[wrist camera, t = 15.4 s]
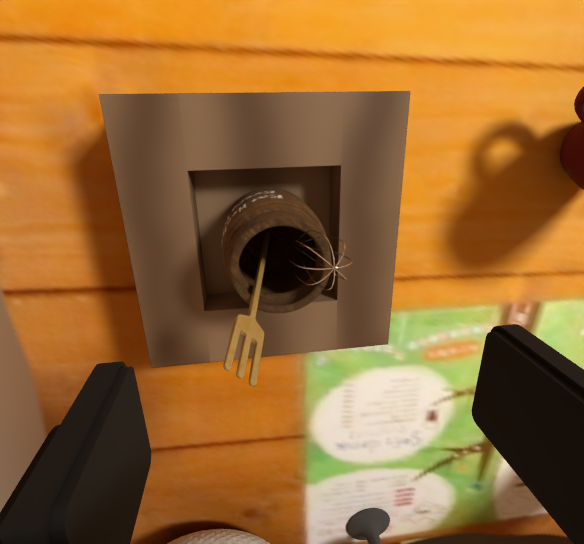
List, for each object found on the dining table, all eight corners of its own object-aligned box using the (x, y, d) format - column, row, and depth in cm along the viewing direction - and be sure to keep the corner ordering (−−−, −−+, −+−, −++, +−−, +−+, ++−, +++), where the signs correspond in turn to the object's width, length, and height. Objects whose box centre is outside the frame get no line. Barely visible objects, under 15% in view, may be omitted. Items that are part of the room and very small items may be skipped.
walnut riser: (374, 98, 25) (410, 91, 20) (362, 308, 31) (388, 344, 26) (128, 101, 23) (98, 94, 18) (165, 325, 29) (151, 368, 24)
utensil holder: (331, 225, 25) (410, 304, 14) (269, 291, 26) (295, 415, 15) (265, 164, 23) (295, 199, 12) (201, 239, 24) (172, 336, 13)
